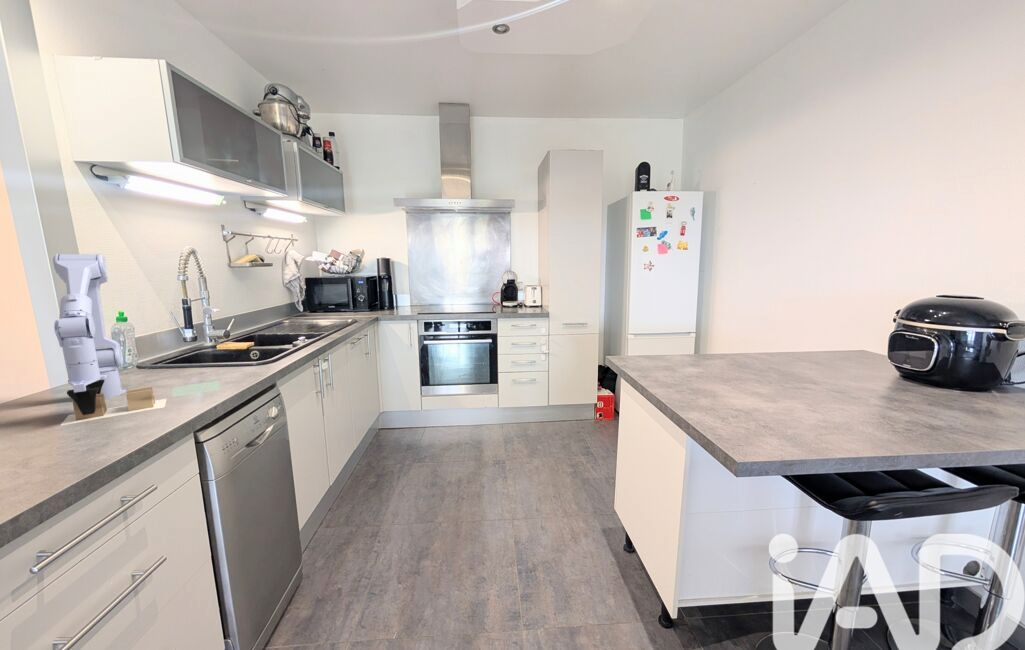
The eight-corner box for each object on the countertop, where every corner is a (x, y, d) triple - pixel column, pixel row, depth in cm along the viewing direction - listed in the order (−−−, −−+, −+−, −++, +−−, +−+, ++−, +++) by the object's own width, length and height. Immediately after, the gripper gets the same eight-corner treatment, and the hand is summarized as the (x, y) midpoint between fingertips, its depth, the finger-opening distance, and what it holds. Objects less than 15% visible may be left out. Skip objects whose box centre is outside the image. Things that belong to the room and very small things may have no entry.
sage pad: (173, 389, 128) (173, 387, 128) (218, 382, 136) (218, 380, 136) (171, 399, 119) (171, 397, 119) (220, 391, 127) (219, 389, 126)
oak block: (131, 406, 112) (128, 389, 111) (154, 402, 115) (152, 385, 114) (129, 411, 108) (126, 394, 107) (153, 407, 111) (150, 390, 110)
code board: (69, 416, 106) (69, 414, 106) (166, 400, 118) (166, 398, 118) (60, 427, 99) (59, 425, 99) (164, 409, 111) (164, 406, 111)
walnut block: (80, 414, 106) (77, 397, 105) (106, 410, 109) (103, 393, 108) (76, 420, 102) (72, 402, 101) (103, 415, 105) (100, 398, 104)
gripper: (98, 365, 100) (107, 415, 102) (108, 354, 111) (116, 400, 113) (56, 369, 95) (67, 422, 98) (71, 358, 107) (80, 405, 109)
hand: (91, 410), depth 105 cm, fingers closed on walnut block, 5 cm apart
